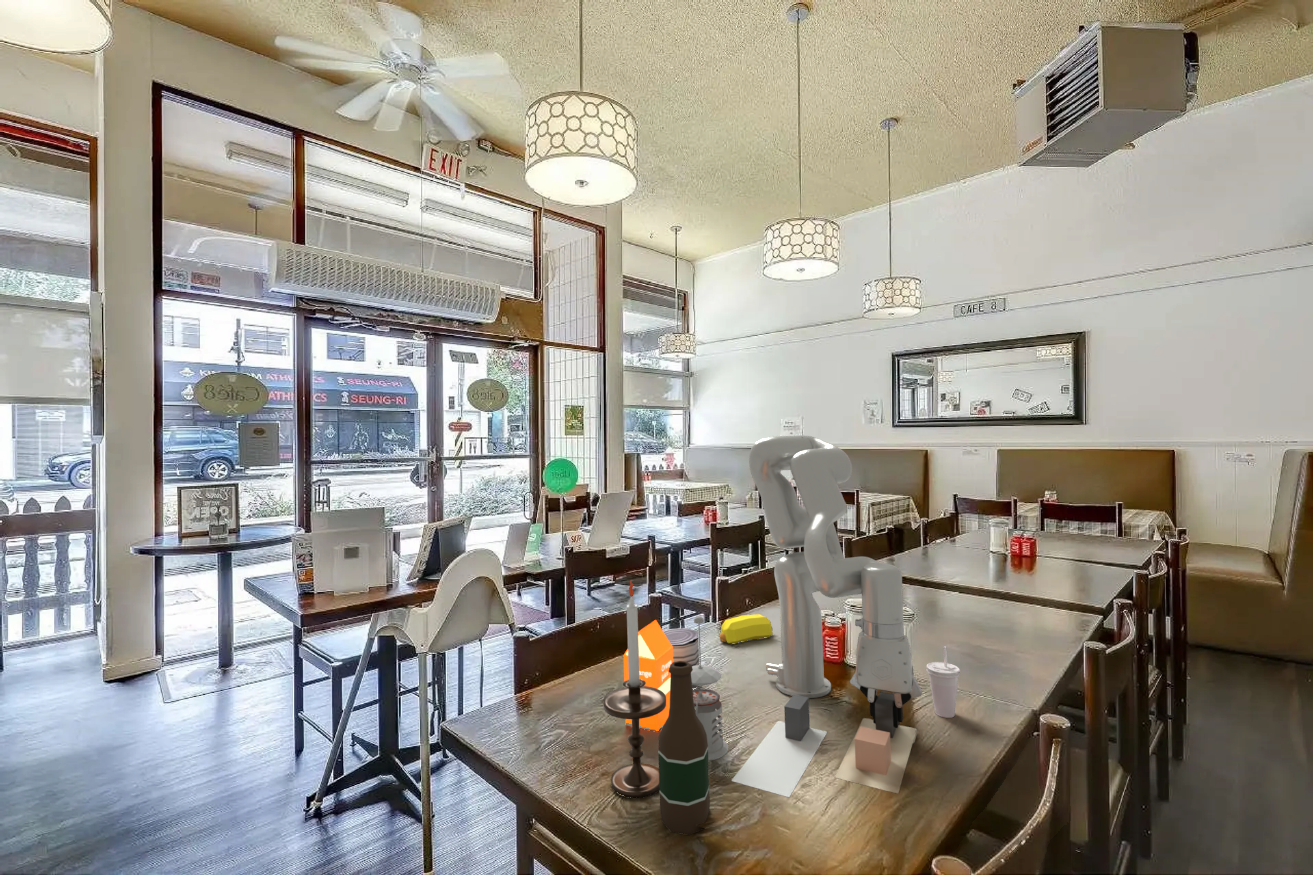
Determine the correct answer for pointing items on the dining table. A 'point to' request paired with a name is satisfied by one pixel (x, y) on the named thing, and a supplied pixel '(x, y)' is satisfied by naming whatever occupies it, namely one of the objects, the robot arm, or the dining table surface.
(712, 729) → the french press
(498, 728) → the dining table surface
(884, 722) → the maple strip
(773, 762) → the grey strip
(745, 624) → the yellow rounded bar
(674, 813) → the beer bottle
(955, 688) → the smoothie
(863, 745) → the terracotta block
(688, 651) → the can
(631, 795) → the candlestick
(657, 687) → the orange juice
